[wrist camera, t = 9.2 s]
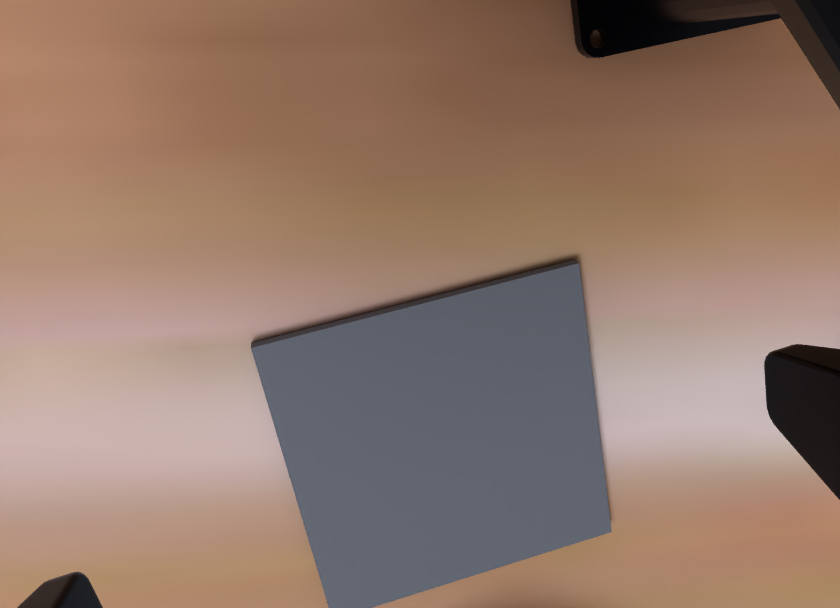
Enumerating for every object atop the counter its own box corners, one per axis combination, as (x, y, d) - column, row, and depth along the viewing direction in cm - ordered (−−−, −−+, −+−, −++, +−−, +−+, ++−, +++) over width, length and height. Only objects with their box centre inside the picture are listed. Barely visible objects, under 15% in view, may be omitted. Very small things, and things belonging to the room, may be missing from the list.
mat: (573, 260, 22) (578, 262, 22) (606, 525, 26) (611, 531, 25) (251, 343, 21) (251, 347, 20) (331, 611, 24) (332, 619, 24)
